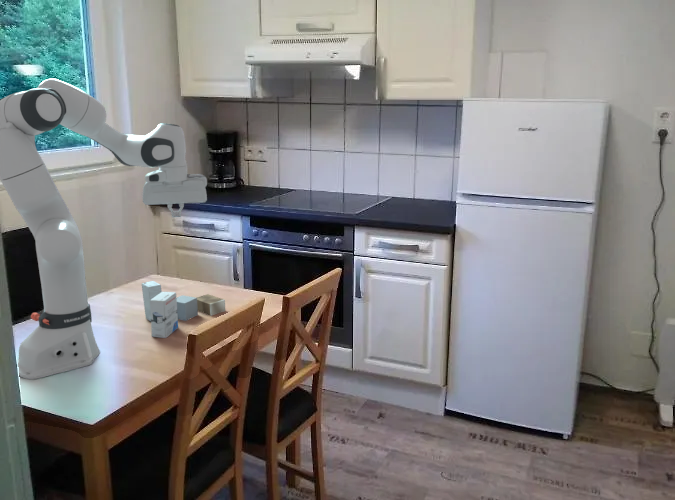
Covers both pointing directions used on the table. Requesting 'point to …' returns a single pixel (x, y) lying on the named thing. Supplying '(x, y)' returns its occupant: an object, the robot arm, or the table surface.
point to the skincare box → (149, 295)
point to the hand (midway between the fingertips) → (176, 216)
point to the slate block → (186, 307)
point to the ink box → (164, 314)
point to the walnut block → (210, 304)
